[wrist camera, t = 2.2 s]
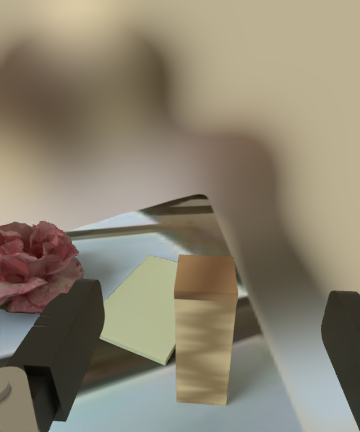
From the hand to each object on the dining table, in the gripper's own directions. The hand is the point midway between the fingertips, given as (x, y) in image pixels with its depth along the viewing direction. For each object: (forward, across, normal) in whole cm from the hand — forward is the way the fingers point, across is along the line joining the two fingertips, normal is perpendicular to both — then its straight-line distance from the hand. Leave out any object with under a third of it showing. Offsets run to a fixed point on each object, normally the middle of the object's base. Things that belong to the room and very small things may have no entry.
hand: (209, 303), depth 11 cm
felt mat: (+22, +6, +20) cm, 31 cm away
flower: (+22, +23, +20) cm, 38 cm away
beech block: (+12, 0, +20) cm, 23 cm away
